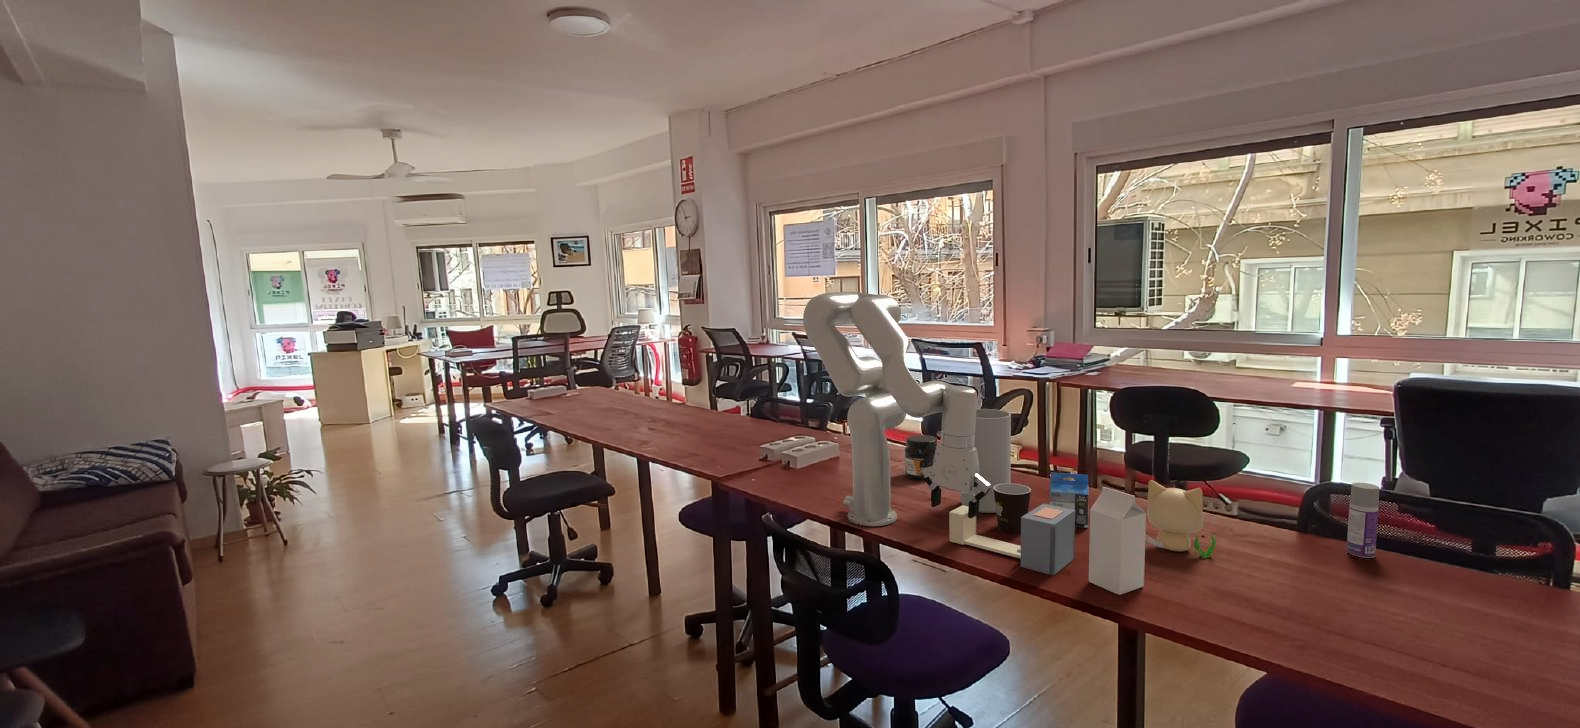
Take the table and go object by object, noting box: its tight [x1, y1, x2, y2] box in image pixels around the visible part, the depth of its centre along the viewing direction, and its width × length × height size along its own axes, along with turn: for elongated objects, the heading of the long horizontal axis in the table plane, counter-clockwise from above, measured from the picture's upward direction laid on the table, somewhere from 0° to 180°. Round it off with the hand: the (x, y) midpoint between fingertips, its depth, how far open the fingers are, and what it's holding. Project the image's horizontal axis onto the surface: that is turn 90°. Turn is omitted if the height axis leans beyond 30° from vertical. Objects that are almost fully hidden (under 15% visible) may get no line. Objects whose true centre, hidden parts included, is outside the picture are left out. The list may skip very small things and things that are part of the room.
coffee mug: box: [993, 482, 1032, 535], centre depth 169 cm, size 12×9×10 cm
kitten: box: [1145, 479, 1217, 559], centre depth 152 cm, size 15×10×15 cm, turn 47°
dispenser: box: [1017, 503, 1076, 577], centre depth 148 cm, size 8×11×11 cm
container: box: [1346, 482, 1380, 559], centre depth 146 cm, size 5×5×15 cm
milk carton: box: [1088, 486, 1147, 596], centre depth 136 cm, size 7×7×19 cm
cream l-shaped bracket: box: [948, 505, 1021, 560], centre depth 157 cm, size 17×6×7 cm, turn 47°
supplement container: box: [904, 434, 939, 481], centre depth 213 cm, size 10×10×12 cm
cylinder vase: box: [960, 408, 1012, 514], centre depth 184 cm, size 12×12×25 cm
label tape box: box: [1048, 472, 1090, 529], centre depth 169 cm, size 9×4×12 cm, turn 68°
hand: (953, 511), depth 163 cm, fingers open, 9 cm apart
